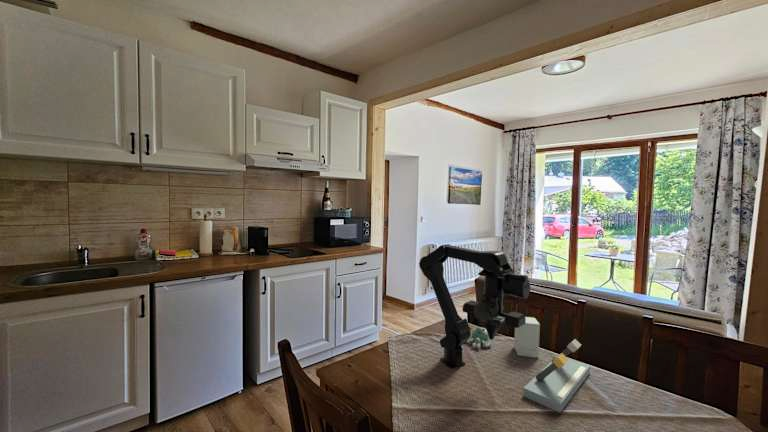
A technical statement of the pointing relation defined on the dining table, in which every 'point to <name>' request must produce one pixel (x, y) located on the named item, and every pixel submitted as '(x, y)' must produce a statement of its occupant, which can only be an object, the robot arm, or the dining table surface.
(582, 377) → the switch panel
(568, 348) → the on lever
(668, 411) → the dining table surface
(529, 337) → the supplement box
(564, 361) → the lever
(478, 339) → the stuffed animal
